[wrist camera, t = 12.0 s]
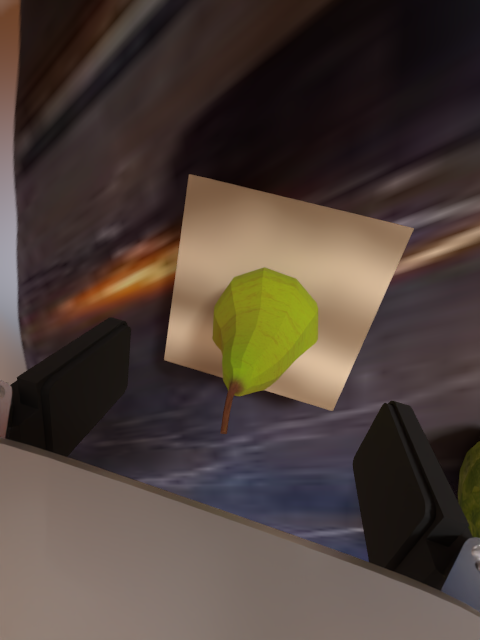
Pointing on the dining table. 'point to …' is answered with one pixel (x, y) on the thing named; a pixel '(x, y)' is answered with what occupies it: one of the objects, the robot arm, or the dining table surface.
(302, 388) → the plinth
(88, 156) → the dining table surface
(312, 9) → the dining table surface
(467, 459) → the lettuce
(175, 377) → the dining table surface
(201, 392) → the dining table surface
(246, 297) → the fruit
